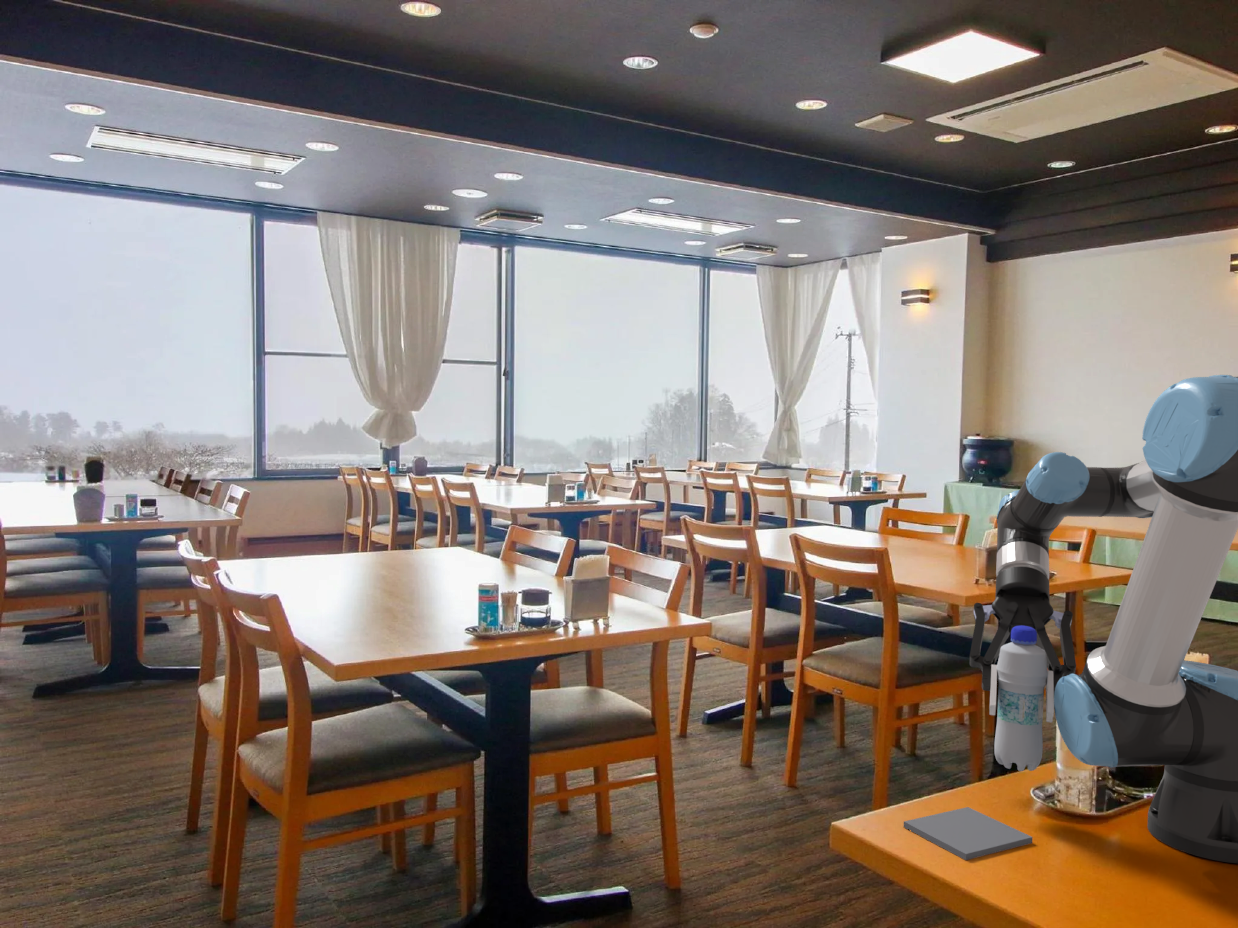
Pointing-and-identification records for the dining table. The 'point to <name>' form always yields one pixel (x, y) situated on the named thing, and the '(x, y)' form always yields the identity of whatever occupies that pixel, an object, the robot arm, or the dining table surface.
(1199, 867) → the dining table surface
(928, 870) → the dining table surface
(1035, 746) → the bottle
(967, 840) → the mat
